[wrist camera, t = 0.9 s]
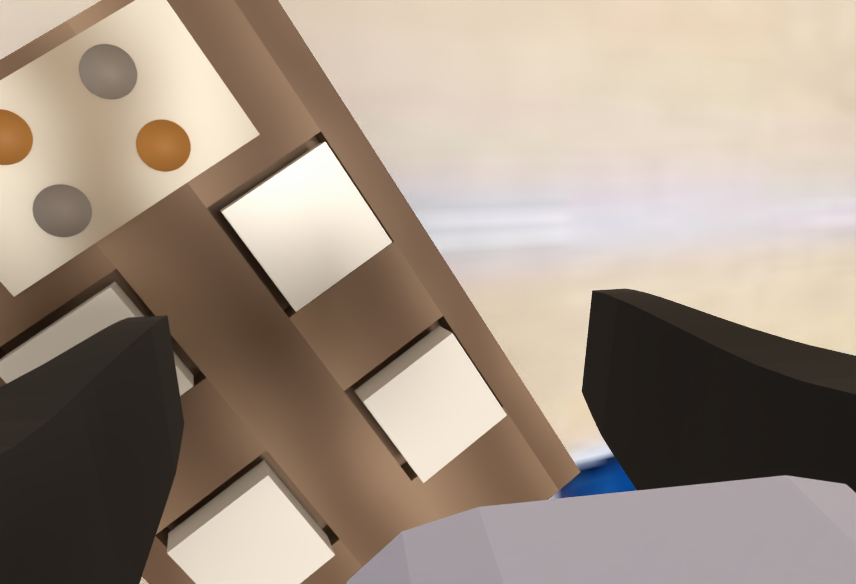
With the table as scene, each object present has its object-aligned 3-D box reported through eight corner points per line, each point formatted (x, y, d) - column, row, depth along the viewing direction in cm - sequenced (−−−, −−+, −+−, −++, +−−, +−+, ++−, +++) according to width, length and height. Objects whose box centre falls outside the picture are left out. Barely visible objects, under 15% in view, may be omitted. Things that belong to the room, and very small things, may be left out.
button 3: (90, 449, 23) (84, 465, 21) (3, 356, 21) (-9, 367, 20) (193, 374, 23) (193, 386, 22) (115, 281, 22) (110, 287, 21)
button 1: (238, 608, 25) (241, 631, 24) (168, 532, 24) (167, 552, 22) (327, 536, 26) (335, 555, 24) (263, 459, 25) (268, 475, 23)
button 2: (411, 468, 26) (423, 483, 25) (354, 390, 25) (362, 401, 24) (491, 404, 27) (506, 415, 26) (439, 325, 26) (452, 333, 25)
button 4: (290, 305, 24) (296, 311, 23) (219, 210, 23) (221, 211, 22) (381, 239, 25) (392, 242, 23) (317, 144, 24) (325, 141, 22)
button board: (275, 663, 29) (287, 729, 26) (-168, 193, 22) (-237, 195, 18) (540, 442, 32) (584, 475, 29) (224, -41, 25) (230, -79, 21)
